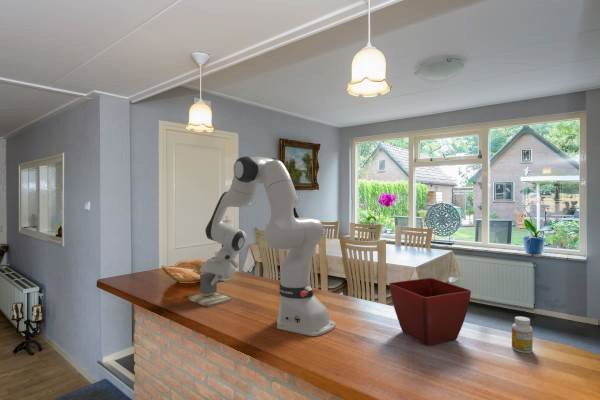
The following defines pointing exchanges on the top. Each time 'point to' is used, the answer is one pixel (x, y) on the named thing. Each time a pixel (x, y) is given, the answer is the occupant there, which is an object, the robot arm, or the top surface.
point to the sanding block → (207, 284)
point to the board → (210, 299)
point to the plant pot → (430, 309)
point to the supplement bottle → (522, 335)
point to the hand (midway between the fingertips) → (207, 283)
